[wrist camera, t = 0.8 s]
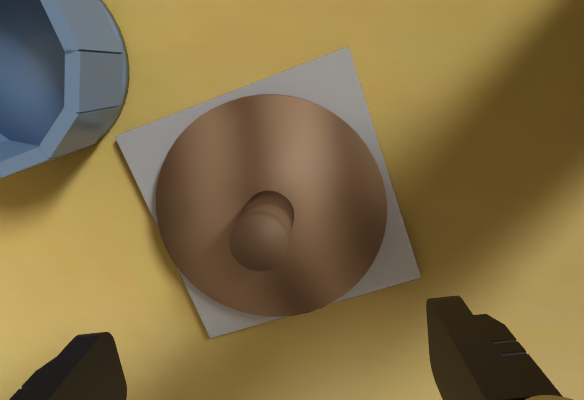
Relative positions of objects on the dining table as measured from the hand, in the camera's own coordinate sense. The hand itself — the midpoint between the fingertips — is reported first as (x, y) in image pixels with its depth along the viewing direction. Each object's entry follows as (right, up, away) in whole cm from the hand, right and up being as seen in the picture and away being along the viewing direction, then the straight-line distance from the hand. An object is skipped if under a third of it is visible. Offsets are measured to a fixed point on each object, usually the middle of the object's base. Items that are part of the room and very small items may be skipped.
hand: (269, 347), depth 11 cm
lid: (-1, +3, +18) cm, 19 cm away
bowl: (-16, +13, +17) cm, 27 cm away
